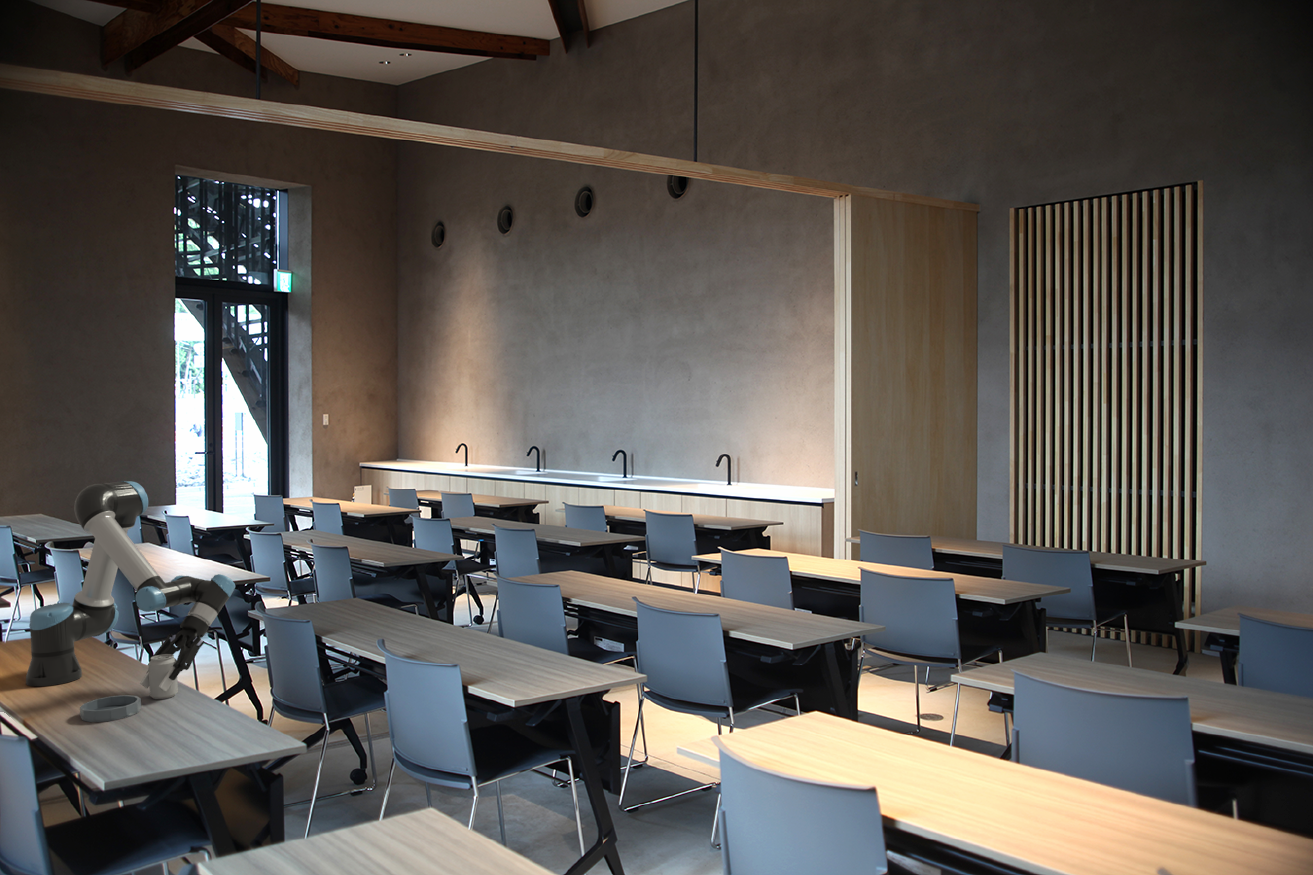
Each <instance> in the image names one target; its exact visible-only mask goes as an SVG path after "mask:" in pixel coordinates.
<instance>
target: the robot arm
mask: <svg viewBox="0 0 1313 875" xmlns="http://www.w3.org/2000/svg"><path fill="white" fill-rule="evenodd" d="M148 497H149V496H148V494H147V492H146V491H145V488H144V487H143V486H142V485H141V484H140V483H138V482H136V481H134V480H133V481H131V480H130V481H129V480H128V481H127V480H121V481H115V482H105V483H94V484H90V485H88V486H86V487H84V488H83V489H82V490H81V491H79V493H78V495H77V496H76V498H75V501H74V506H73V508H74V514H75V518H76V520H77V522H78V524H79V526H80V527H81V528H82V529H83V530H84V531H85V533H86V534H87V533H88V534H91V535H92V536H93V537H94V542H93V546H92V549H91V553H90V557H89V560H88V565H87V569H86V573H85V577H84V580H83V584H82V588H81V591H78V592H77V593H76V594H75V595H74V598H73V602H72V603H70V602H56V603H54V604H47V605H44V606H41V607H38V608H36V609H35V610H33V611H32V612H31V614H30V616H29V632H30V633H29V634H30V649H31V654H30V655H31V659H30V663H29V666H28V669H27V671H26V672H27V673H26V676H25V684H26V686H29V687H47V686H48V687H49V686H56V685H62V684H66V683H70V682H73V681H76V680H79V679H80V678H82V676H83V672H82V667H81V665H80V663H79V661H78V658H77V656H76V653H75V642H78V641H81V640H85V639H90V638H92V637H93V638H94V637H99V636H101V635H104V634H106V633H109V632H110V631H111V630H113V629H114V627H115V626H116V625H117V623H118V620H119V616H120V614H119V610H117V609H118V607H119V606H118V605H117V604H116V602H115V598H114V597H113V596H112V593H113V592H112V591H113V588H114V584H115V580H116V576H117V573H118V569H119V570H120V572H121V573H122V574H123V576H124V577H125V578H126V579H127V580H128V582H129V583H130V584H131V585H132V587H133V588H134V589H135V591H136V592H137V593H135V602H136V606H137V608H138V609H139V610H141V611H142V612H146V613H149V612H150V613H151V612H155V611H156V612H157V611H160V610H163V609H166V608H171V607H175V606H179V605H182V604H183V605H184V604H185V603H193V605H192V607H191V608H190V610H189V611H188V612H187V615H186V616H185V617H184V618H183V620H182V622H181V623H180V625H179V627H180V629H179V631H178V632H177V633H176V634H172V633H169V634H168V635H167V637H166V638H165V640H164V641H163V642H162V643H161V645H160V646H159V647H158V648H157V650H156V651H155V652H154V653H153V655H152V656H151V657H153V656H157V655H162V654H173V655H174V654H176V653H177V652H178V656H177V659H176V660H177V661H176V664H174V665H173V666H174V667H175V668H174V667H171V669H170V670H169V672H168V673H167V675H166V676H165V678H164V679H163V680H162V682H161V683H160V685H159V687H160V688H161V689H162V690H164V691H167V690H168V688H169V687H170V685H171V684H172V682H173V681H174V680H175V679H176V677H177V678H178V677H179V675H180V673H181V672H183V671H184V670H185V671H188V670H189V668H191V665H192V663H193V662H194V659H195V658H196V656H197V654H198V652H199V650H200V649H201V648H202V646H203V645H204V644H205V640H203V639H202V638H203V637H204V636H205V634H206V633H207V631H208V630H209V627H211V625H212V623H213V622H214V620H215V619H216V618H217V617H218V615H219V613H220V612H221V610H222V608H224V606H225V604H226V603H227V602H228V601H229V599H230V598H231V596H232V594H233V592H234V591H235V588H236V584H235V582H234V580H232V579H231V578H230V577H228V576H226V575H224V574H221V573H220V574H214V576H212V577H211V578H210V580H209V579H202V578H198V577H194V576H190V575H183V574H181V575H177V576H175V577H174V578H172V579H171V580H170V581H168V582H166V581H164V580H163V578H162V577H161V576H160V575H159V573H158V572H157V571H156V570H155V568H154V567H153V565H152V564H151V563H150V562H149V561H148V559H147V558H146V557H145V555H143V553H142V552H141V551H140V549H139V548H138V547H137V545H136V544H135V543H134V542H133V541H132V539H131V538H130V537H129V535H128V531H129V529H133V527H134V526H135V525H136V521H137V517H141V515H143V514H145V513H146V512H147V510H148V507H149V498H148ZM151 657H150V658H149V659H148V661H149V662H150V661H151ZM139 684H140V685H141V686H142V687H144V688H145V689H149V669H148V670H147V672H146V674H145V676H143V678H142V680H141V681H140V683H139Z"/></svg>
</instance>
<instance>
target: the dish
mask: <svg viewBox="0 0 1313 875" xmlns="http://www.w3.org/2000/svg"><path fill="white" fill-rule="evenodd" d="M141 700H142V699H141V697H139V696H138V695H128V694H124V695H123V694H121V695H112V696H111V695H110V696H105V697H100V698H95V699H94V700H89V701H88V702H84V703H83V704H81V706H80V707H79V716H80V719H81V720H82V721H83V722H87V723H103V722H105V723H106V722H112V721H117V720H123V719H126V718H129V717H132V716H134V715H137V714H138V713H139V712H140V711H141V709H142V701H141Z"/></svg>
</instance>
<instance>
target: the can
mask: <svg viewBox="0 0 1313 875" xmlns="http://www.w3.org/2000/svg"><path fill="white" fill-rule="evenodd" d="M152 656H153V655H152ZM152 656H151V657H150V658H151V661H149V662H148V670H149V687H148V689H149V697H151V698H152V699H153V700H164V699H166V700H167V699H171V698H172V697H175V696H176V695H177V694H178V692H179V690H178V687H179V686H178V676H177V677H176V679H175V680H174V681H173V682H172V684H171V685H170V687H169V688H168V690H167V691H164V690H162V689H161V688H160V687H159V685H160V683H161V682H162V680H163V679H164V678H165V676H166V675H167V673H168V672H169V670H170V669H171V667H174V666H173V665H174V664H176V661H177V659H176V658H175V657H174V656H175V655H174V654H162V655H157V656H153V657H152ZM174 668H175V667H174Z"/></svg>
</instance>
